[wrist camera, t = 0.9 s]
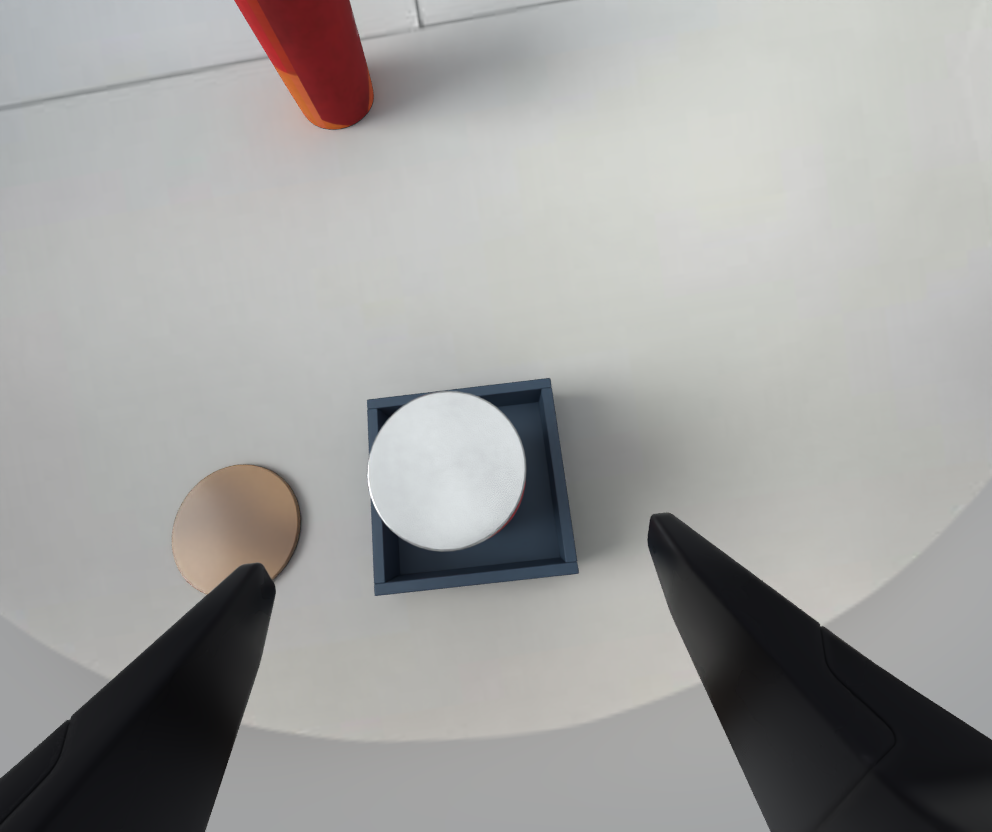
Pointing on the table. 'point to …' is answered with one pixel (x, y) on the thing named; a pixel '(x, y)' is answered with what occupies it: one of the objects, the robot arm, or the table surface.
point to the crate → (527, 536)
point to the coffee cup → (315, 56)
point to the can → (447, 471)
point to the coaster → (235, 525)
